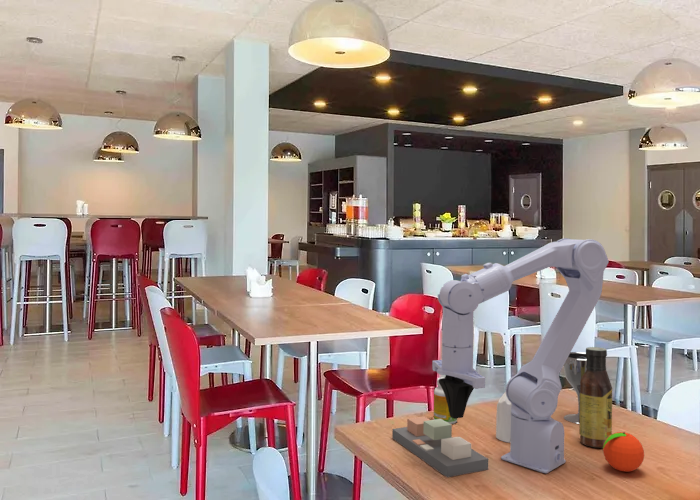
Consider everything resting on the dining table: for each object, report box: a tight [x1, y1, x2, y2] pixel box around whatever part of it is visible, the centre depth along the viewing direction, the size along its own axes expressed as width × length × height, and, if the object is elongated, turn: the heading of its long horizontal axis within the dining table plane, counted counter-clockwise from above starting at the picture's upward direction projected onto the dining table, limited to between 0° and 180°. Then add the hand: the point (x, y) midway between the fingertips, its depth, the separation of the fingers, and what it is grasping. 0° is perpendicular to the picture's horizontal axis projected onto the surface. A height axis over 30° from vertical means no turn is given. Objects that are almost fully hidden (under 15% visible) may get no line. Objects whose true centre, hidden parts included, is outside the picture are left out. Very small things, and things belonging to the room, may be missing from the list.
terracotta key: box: [406, 415, 430, 437], centre depth 122 cm, size 4×4×2 cm
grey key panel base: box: [391, 426, 489, 478], centre depth 117 cm, size 21×9×2 cm, turn 23°
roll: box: [495, 391, 511, 444], centre depth 125 cm, size 6×12×6 cm
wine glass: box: [563, 351, 587, 425], centre depth 138 cm, size 8×8×15 cm
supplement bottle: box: [433, 376, 458, 425], centre depth 136 cm, size 5×5×10 cm
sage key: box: [423, 419, 453, 440], centre depth 116 cm, size 4×4×2 cm
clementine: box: [602, 431, 645, 473], centre depth 109 cm, size 8×7×7 cm
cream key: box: [441, 436, 472, 460], centre depth 111 cm, size 4×4×2 cm
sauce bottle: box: [578, 346, 613, 449], centre depth 122 cm, size 7×6×20 cm
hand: (456, 417), depth 110 cm, fingers closed
